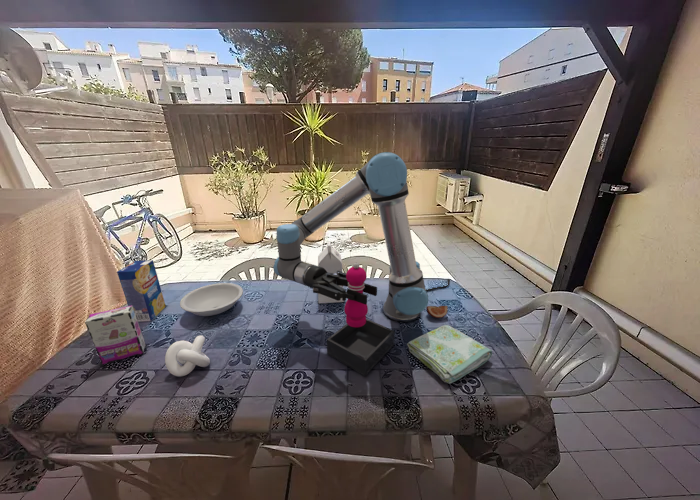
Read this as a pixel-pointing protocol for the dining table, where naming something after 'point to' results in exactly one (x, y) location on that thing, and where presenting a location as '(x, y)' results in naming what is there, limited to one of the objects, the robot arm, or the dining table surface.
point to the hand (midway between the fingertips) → (371, 295)
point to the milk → (329, 268)
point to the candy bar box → (116, 334)
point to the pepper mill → (353, 308)
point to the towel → (449, 353)
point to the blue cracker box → (142, 289)
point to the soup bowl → (211, 299)
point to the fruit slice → (437, 311)
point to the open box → (361, 345)
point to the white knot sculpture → (186, 356)
